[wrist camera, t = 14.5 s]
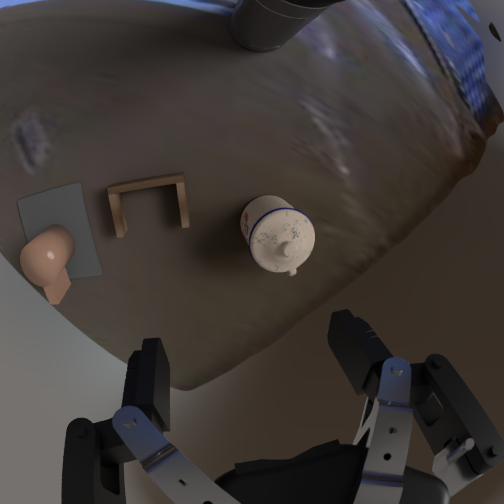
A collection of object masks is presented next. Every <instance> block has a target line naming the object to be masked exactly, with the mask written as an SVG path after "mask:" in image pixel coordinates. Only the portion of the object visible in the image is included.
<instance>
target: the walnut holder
mask: <svg viewBox="0 0 504 504" xmlns="http://www.w3.org/2000/svg"><path fill="white" fill-rule="evenodd" d="M175 183H176V185H177V193H178V201H179V208H180V215H181V222H182V228H186V227H189V221H190V220H189V213H188V205H187V197H186V189H185V180H184V172H182V173H175V174H168V175H162V176H155V177H149V178H143V179H138V180H132V181H127V182H122V183H117V184H113V185H111V186H110V187H108V188H107V190H108V196H109V201H110V206H111V211H112V216H113V221H114V225H115V230H116V234H117V238H119V237H124V235H125V233H126V232H127V230H128V228H127V224H126V219H125V214H124V209H123V203H122V198H121V192H126V191H132V190H137V189H143V188H149V187H155V186H162V185H168V184H175Z"/></svg>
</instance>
